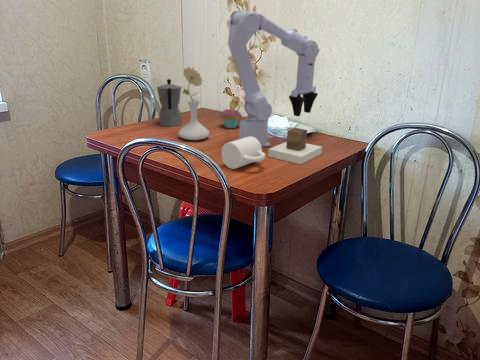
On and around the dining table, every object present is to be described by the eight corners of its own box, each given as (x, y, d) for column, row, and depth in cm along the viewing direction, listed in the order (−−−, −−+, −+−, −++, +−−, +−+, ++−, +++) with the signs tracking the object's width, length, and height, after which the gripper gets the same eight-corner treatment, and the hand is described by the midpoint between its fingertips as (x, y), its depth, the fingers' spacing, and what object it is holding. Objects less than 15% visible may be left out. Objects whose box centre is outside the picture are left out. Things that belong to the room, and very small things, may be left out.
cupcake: (244, 126, 172) (245, 96, 168) (233, 130, 165) (234, 100, 161) (227, 123, 176) (227, 94, 172) (215, 127, 170) (215, 97, 165)
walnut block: (298, 151, 135) (300, 132, 133) (286, 148, 137) (287, 130, 135) (305, 147, 138) (307, 129, 136) (293, 145, 141) (294, 127, 138)
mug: (220, 165, 128) (221, 140, 125) (242, 158, 135) (243, 133, 132) (251, 175, 121) (252, 148, 118) (272, 167, 128) (273, 141, 125)
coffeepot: (159, 120, 178) (157, 76, 171) (181, 120, 179) (180, 76, 173) (158, 129, 164) (156, 82, 157) (182, 129, 165) (181, 82, 159)
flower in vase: (215, 140, 153) (215, 69, 143) (186, 144, 147) (184, 70, 138) (199, 131, 163) (198, 64, 154) (171, 135, 157) (169, 66, 148)
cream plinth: (300, 164, 130) (301, 156, 129) (268, 156, 137) (268, 149, 136) (321, 153, 141) (322, 146, 140) (290, 146, 147) (290, 139, 146)
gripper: (305, 79, 141) (302, 119, 146) (324, 75, 151) (321, 112, 156) (287, 77, 144) (284, 116, 149) (307, 73, 155) (304, 109, 160)
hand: (302, 114), depth 153 cm, fingers open, 7 cm apart
